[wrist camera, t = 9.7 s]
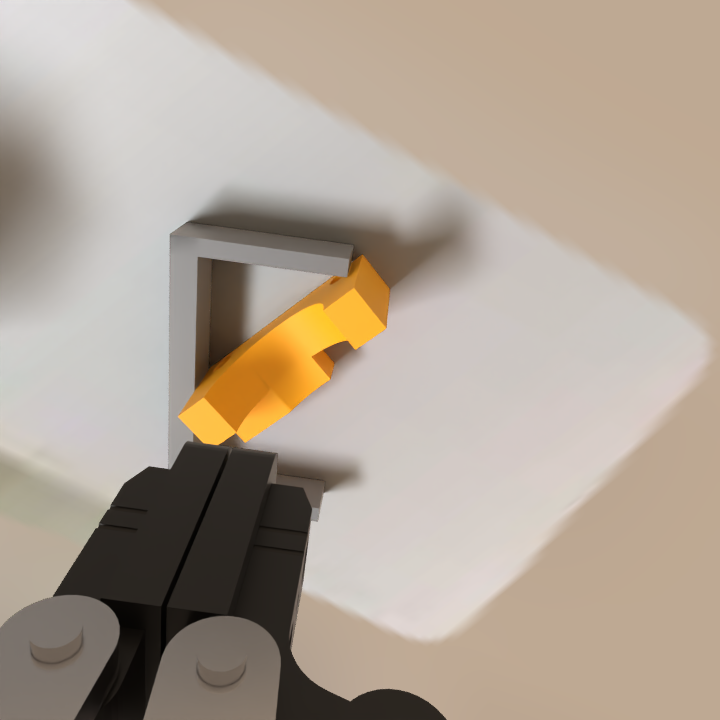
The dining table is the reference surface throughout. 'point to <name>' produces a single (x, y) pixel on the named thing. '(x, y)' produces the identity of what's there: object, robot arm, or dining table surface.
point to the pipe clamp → (287, 357)
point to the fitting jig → (193, 309)
